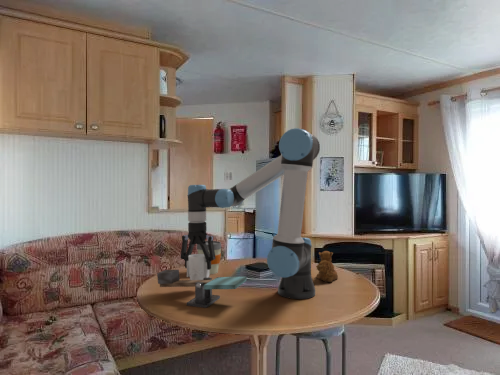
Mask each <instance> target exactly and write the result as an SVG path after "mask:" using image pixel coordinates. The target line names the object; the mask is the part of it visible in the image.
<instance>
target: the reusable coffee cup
mask: <svg viewBox="0 0 500 375" xmlns="http://www.w3.org/2000/svg"><path fill="white" fill-rule="evenodd" d="M205 242H206V246H207V249H208V251H209V247H208V240H205ZM213 245H214V251H215V260H212V261H211V269H210V270H209V275H216V274H218V273H219V267H220V263H221V257H222V253H221V249H222V242H221V241H218V240H217V241H215V240H213ZM196 250H197V254H204V253H203V250H202V248H201V246H200V245H199V244H196ZM209 254H210V253H209Z"/></svg>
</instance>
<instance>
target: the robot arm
mask: <svg viewBox="0 0 500 375" xmlns="http://www.w3.org/2000/svg"><path fill="white" fill-rule="evenodd" d="M278 149H279V152H280V155H278V156H277V157H276V158H275V159H272V160H271V161H270V162H268V163H267V164H266V165H265V164H264V166H262V167H261V168H259V169H258V170H256V171H255V172H253V173H251V174H250V175H249V176H247V177H246V178H244V179H242V180H241V181H239V182H237V184H235V185H233V186H232V187H230V188H215V189H213V188H212V189H207V186H206V184H190V185H188V187H187V194H186V195H187V208H188V210H187V221H188V223H187V231H188V233H187V234H184V235H182V236H181V240H182V242H181V248H180V260H183V261H184V268H185V269H186V278H190V274H189V262H188V256H189V255H192V254H193V250H194V247H195V246H196V245H197V244H199V245H200V246H201V248H202V250H203V253H204V256H205V258H206V262H205V278H208V277H210V274H209V270H210V269H211V261H212V260H215V251H214V245H213V241H214V235H209V234H207V233H208V232H207V222H206V221H207V208H216V209H217V208H220V209H226V208H227V209H228V208H231V207H237V206H240V205H242V203H244V202H245V200H246V199H248V198H249V197H251V196H253V195H255V194H256V193H257V192H259V191H261V190H263V189H264V188H265V187H267V186H268V185H270V184H271V183H273V182H275V181H277V180H278V179H279V178H282V177H283V181H282V187H281V188H282V189H281V198H280V207H279V218H278V228H277V233H276V234H275V235H274V236H273V238H272V245H271V249H270V250H269V251H268V254H267V256H266V257H267V258H266V263H267V267H268V269H269V270H270V271H271V272H272V274H274V275H275V276H277V277H280V280H279V283H278V287H277V294H278V296H280V297H283V298H287V299H292V300H293V299H295V300H304V299H311V298H313V297H315V296H316V287H315V284H314V280H313V278H312V248H313V246H312V240H311V239H310V238H309V237H302V228H303V218H304V209H305V202H306V201H305V200H306V190H307V182H308V173H309V171H310V170H312V169H313V166H314V165H313V164H314V160H315V159H317V157H318V156H319V154H320V151H321V145H320V141H319V140H318V138H317V137H316V136H315V135H314V134H312V133H311V132H309V131H308V130H306V129H304V128H298V127H297V128H296V127H295V128H291V129H288V130H287V131H285V132H284V133H283V134H282V136H281V137H280V139H279V143H278ZM188 240H189V241H188ZM205 241H208V247H209V251H208V249H207V246H206V242H205ZM188 242H189V244H188ZM209 253H210V254H209Z"/></svg>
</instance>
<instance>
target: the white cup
mask: <svg viewBox="0 0 500 375" xmlns="http://www.w3.org/2000/svg"><path fill="white" fill-rule="evenodd" d="M188 262H189V274H190V276H189V280H203V278H205V262H206V258H205V256H204V254H198V253H194V254H193V253H191V255H189V256H188Z"/></svg>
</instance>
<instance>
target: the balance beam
mask: <svg viewBox="0 0 500 375" xmlns="http://www.w3.org/2000/svg"><path fill="white" fill-rule="evenodd" d="M156 276H157V284H159V288H170V287H171V288H183V287H184V288H185V287H186V288H188V287H189V288H190V287H192V288H195V283H196V282H204V283H205V285H204V289H212V290H236V289H238V288H239V287H240V286H242V285H243V284H244V283H246V282H247V280H248V279H247V276H218V277H216V278H213V279H212V280H190V279H189V280H188V279H187V280H186V279H185V280H183V279H180V278H181V277H180V270H179V269H165V270H162V271H160V272H157V273H156Z"/></svg>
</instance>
